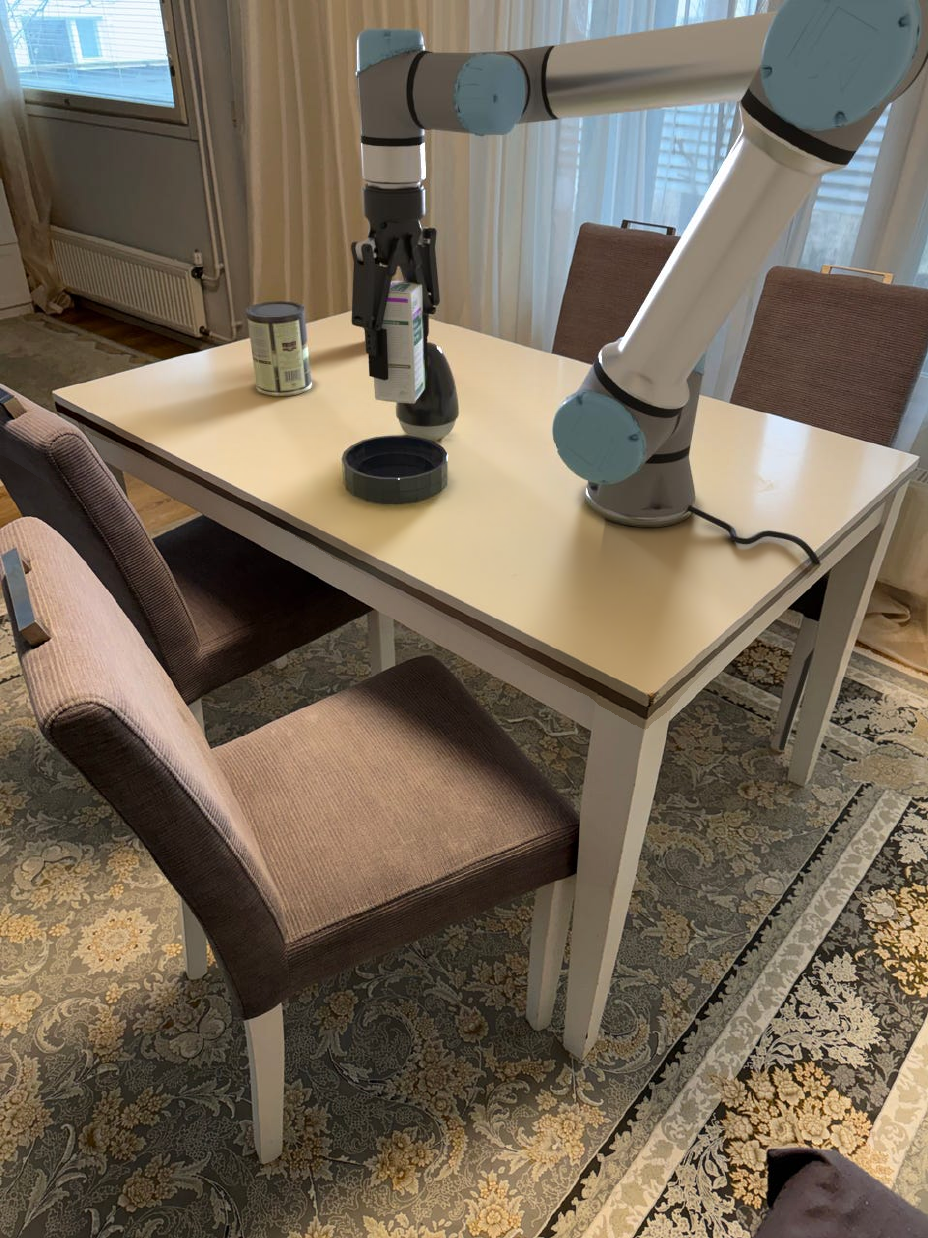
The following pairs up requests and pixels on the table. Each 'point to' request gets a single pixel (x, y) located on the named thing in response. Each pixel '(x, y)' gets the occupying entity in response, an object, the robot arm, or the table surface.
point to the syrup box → (403, 344)
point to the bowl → (395, 469)
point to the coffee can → (279, 348)
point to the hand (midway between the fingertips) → (399, 369)
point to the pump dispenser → (432, 401)
